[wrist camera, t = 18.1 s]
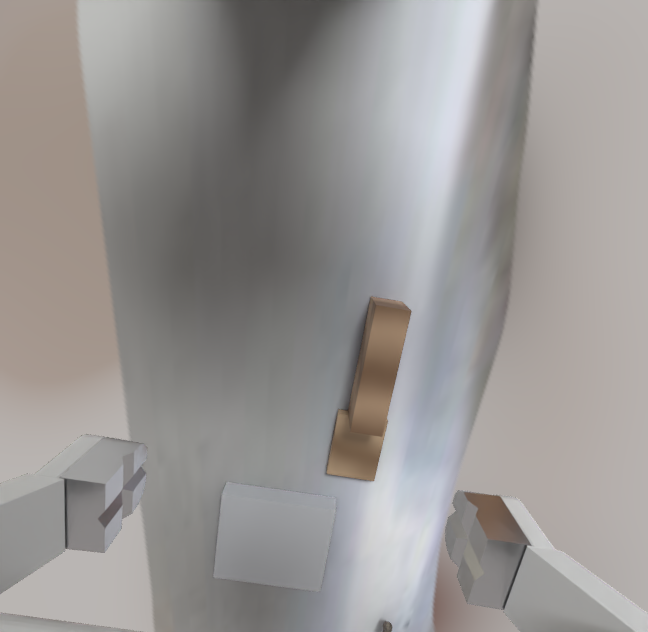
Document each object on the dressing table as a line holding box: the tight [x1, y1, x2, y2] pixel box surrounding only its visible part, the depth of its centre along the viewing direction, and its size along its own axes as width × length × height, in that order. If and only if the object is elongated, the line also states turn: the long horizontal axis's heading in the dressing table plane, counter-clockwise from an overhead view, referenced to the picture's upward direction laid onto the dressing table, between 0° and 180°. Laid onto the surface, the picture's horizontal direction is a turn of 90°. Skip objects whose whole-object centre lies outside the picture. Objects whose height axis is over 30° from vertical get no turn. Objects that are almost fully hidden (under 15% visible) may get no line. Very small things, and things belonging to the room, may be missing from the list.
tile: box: [213, 482, 336, 592], centre depth 39 cm, size 2×12×11 cm
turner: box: [327, 297, 411, 481], centre depth 34 cm, size 19×5×4 cm, turn 171°
